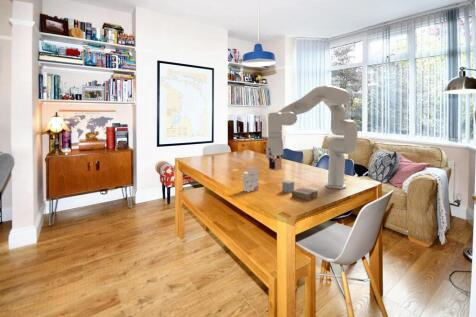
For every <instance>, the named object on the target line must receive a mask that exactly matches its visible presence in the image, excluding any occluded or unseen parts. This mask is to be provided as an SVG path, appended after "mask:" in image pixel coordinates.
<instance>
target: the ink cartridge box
mask: <svg viewBox="0 0 476 317" xmlns="http://www.w3.org/2000/svg"><path fill="white" fill-rule="evenodd" d="M243 190H244V192H246V191H247V192H246V193H250V191H252V192H255V190H256V191H258V190H259V168H258V166H254V167H248V168H247V171H244V172H242V191H243Z"/></svg>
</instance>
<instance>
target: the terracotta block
mask: <svg viewBox="0 0 476 317" xmlns="http://www.w3.org/2000/svg"><path fill="white" fill-rule="evenodd" d="M274 162H275V169H270V168H269V167H268V170H271V171H274V172H275V171H280V170H282V168H283V166H282V159H280V158H276V157H275V158H274Z"/></svg>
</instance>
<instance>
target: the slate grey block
mask: <svg viewBox="0 0 476 317" xmlns="http://www.w3.org/2000/svg"><path fill="white" fill-rule="evenodd" d="M281 186H282V190H281V191H282V192H283V193H287V194H292V191H293V190H295V181H292V180H284V181H282V185H281Z"/></svg>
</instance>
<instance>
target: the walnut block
mask: <svg viewBox="0 0 476 317" xmlns="http://www.w3.org/2000/svg"><path fill="white" fill-rule="evenodd" d="M318 194H319V193H318V190H316V189H310V188H306V187H300V188H296V189H294V190H293V191H292V192H291V197H292V198H293V199H294V198H295V199H297V200H301V201H305V202H309V201H312V200H314V199H317V198H318Z"/></svg>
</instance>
